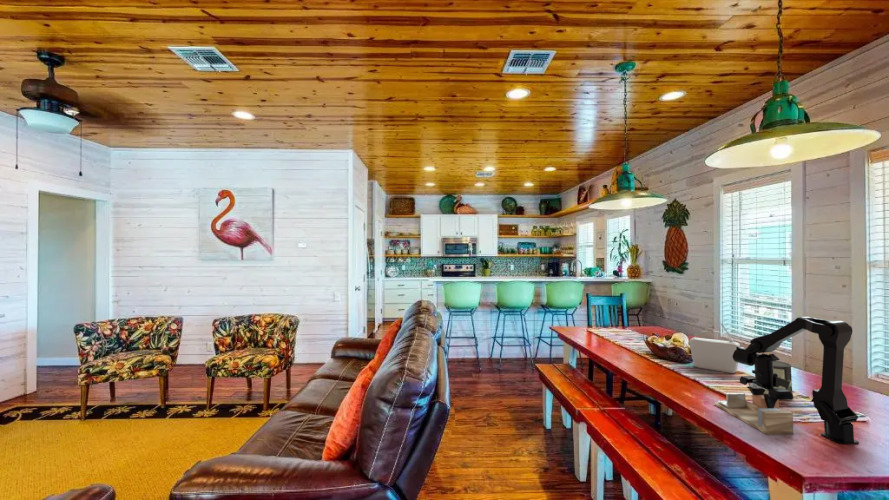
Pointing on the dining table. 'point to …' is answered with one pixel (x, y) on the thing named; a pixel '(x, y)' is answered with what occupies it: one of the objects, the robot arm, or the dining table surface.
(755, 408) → the beige piece
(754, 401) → the terracotta book
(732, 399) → the bookend
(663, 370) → the dining table surface
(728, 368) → the radio
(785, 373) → the coffee can
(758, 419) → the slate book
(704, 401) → the dining table surface
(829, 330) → the robot arm
